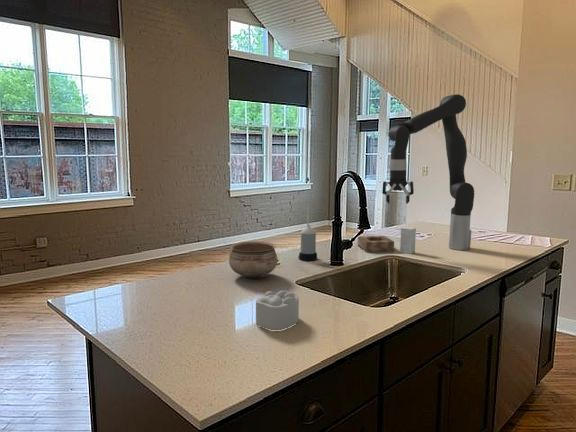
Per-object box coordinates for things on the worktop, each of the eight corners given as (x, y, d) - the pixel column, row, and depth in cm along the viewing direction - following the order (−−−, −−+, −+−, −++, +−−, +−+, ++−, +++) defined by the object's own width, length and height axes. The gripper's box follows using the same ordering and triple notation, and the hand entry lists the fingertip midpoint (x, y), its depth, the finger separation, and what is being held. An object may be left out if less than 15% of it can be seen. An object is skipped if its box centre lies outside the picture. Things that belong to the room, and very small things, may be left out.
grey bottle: (295, 258, 202) (296, 203, 198) (311, 256, 206) (311, 202, 202) (304, 262, 195) (305, 206, 191) (320, 260, 199) (321, 205, 195)
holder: (383, 245, 229) (384, 235, 228) (393, 251, 215) (394, 241, 214) (357, 246, 227) (357, 236, 226) (366, 252, 213) (366, 242, 213)
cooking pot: (293, 277, 173) (293, 246, 171) (260, 289, 159) (260, 256, 157) (247, 266, 189) (247, 238, 187) (213, 276, 174) (213, 245, 172)
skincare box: (415, 252, 214) (416, 228, 212) (411, 254, 211) (412, 229, 209) (403, 250, 218) (404, 226, 216) (399, 252, 215) (400, 227, 213)
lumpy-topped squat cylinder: (251, 324, 128) (250, 295, 127) (281, 311, 138) (281, 284, 136) (277, 334, 121) (277, 304, 120) (307, 320, 131) (307, 292, 130)
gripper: (414, 168, 209) (413, 202, 212) (384, 168, 214) (383, 202, 217) (413, 169, 202) (412, 204, 205) (381, 169, 207) (381, 204, 210)
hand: (397, 203), depth 211 cm, fingers open, 8 cm apart
